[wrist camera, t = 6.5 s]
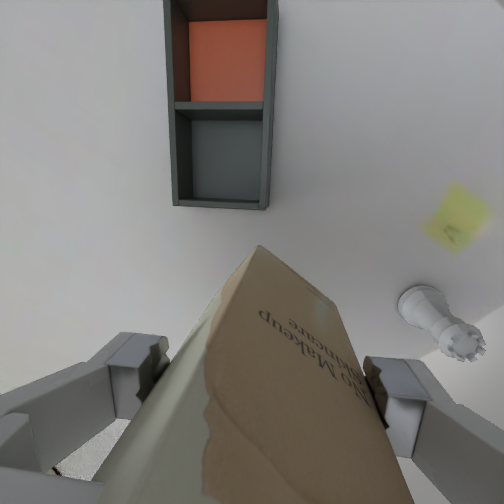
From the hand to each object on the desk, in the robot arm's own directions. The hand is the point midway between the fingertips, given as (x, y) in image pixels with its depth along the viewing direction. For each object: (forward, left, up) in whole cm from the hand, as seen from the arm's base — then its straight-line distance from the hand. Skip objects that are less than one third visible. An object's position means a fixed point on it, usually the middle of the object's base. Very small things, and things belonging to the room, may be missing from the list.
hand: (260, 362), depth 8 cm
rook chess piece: (-15, +6, -21) cm, 27 cm away
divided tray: (+6, -12, -21) cm, 24 cm away
